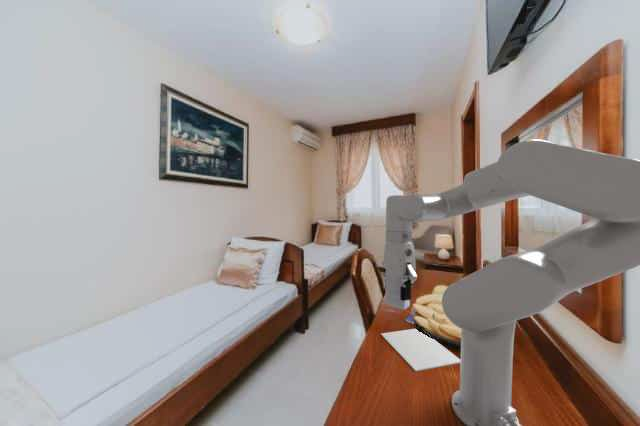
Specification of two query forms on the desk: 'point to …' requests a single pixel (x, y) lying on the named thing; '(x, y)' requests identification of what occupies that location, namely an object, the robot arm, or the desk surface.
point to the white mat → (420, 349)
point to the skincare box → (394, 290)
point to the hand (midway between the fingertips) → (397, 294)
